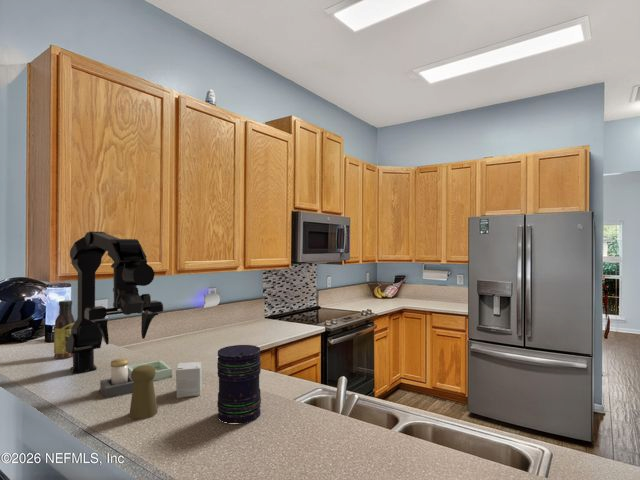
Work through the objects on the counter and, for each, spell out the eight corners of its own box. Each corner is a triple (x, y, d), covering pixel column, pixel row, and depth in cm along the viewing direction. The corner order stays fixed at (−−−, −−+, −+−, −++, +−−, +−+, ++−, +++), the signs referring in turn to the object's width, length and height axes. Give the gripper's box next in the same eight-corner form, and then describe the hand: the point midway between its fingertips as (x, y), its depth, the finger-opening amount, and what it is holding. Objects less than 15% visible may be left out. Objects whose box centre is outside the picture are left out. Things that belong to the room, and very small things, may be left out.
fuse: (109, 389, 105) (109, 360, 105) (126, 386, 108) (126, 357, 108) (112, 394, 102) (112, 364, 102) (129, 390, 105) (129, 361, 105)
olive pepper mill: (129, 422, 86) (129, 372, 86) (128, 411, 91) (128, 365, 92) (158, 416, 89) (158, 368, 89) (156, 406, 94) (156, 361, 94)
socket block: (100, 389, 106) (100, 380, 106) (131, 382, 111) (131, 374, 111) (105, 398, 99) (105, 388, 99) (139, 390, 104) (139, 381, 104)
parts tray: (126, 374, 118) (126, 366, 118) (160, 368, 124) (160, 360, 124) (136, 384, 109) (136, 375, 109) (172, 377, 115) (172, 368, 115)
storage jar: (214, 410, 92) (214, 347, 92) (255, 403, 96) (254, 342, 96) (221, 428, 83) (220, 358, 83) (266, 420, 86) (265, 353, 87)
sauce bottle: (67, 359, 134) (67, 302, 134) (49, 359, 134) (49, 302, 134) (79, 354, 141) (79, 299, 141) (62, 354, 141) (62, 299, 141)
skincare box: (201, 387, 107) (201, 360, 107) (200, 396, 101) (200, 367, 101) (178, 389, 105) (178, 362, 105) (175, 398, 99) (175, 369, 99)
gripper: (94, 289, 94) (94, 353, 94) (170, 283, 107) (171, 340, 106) (83, 286, 102) (84, 345, 102) (156, 281, 115) (156, 334, 115)
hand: (125, 341), depth 106 cm, fingers open, 9 cm apart
